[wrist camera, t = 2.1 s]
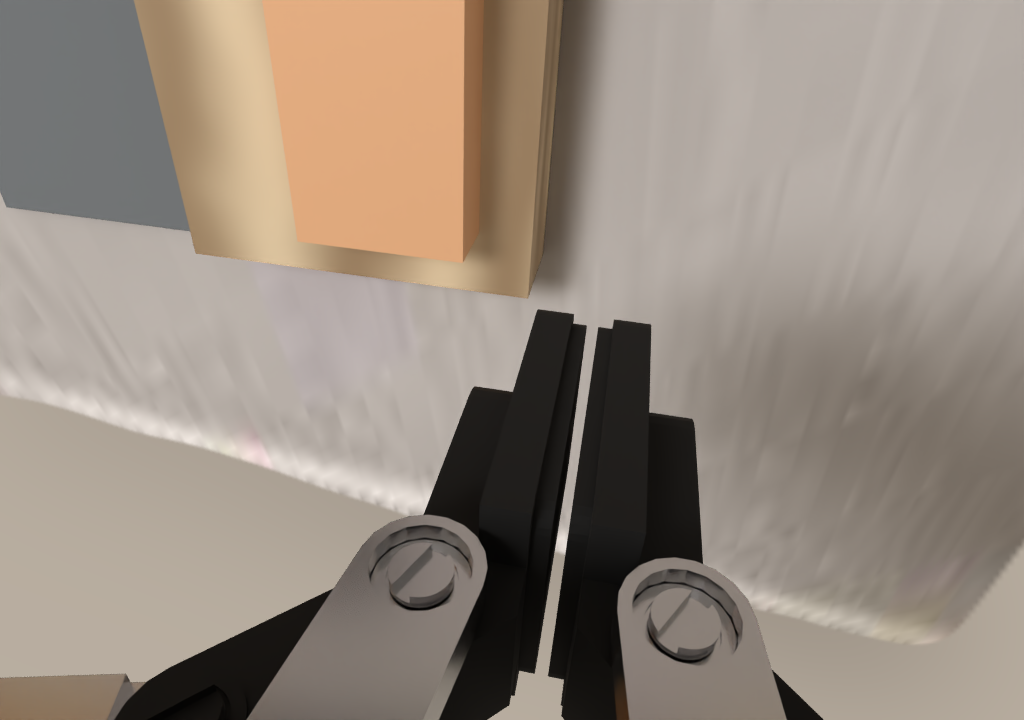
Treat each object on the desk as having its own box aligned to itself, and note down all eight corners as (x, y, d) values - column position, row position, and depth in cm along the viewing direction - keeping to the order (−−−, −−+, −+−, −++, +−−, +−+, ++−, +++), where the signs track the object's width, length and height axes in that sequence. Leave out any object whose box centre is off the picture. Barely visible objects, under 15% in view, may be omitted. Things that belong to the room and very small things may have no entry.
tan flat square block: (575, -145, 22) (559, -150, 18) (542, 253, 30) (527, 298, 27) (170, -167, 23) (91, -175, 20) (244, 215, 31) (195, 253, 28)
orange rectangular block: (485, -49, 20) (464, -41, 18) (479, 233, 25) (462, 263, 23) (293, -62, 21) (253, -57, 19) (326, 213, 26) (297, 241, 24)
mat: (149, -205, 23) (144, -206, 23) (238, 234, 32) (234, 236, 32) (-158, -219, 24) (-167, -221, 24) (11, 204, 34) (6, 206, 33)
